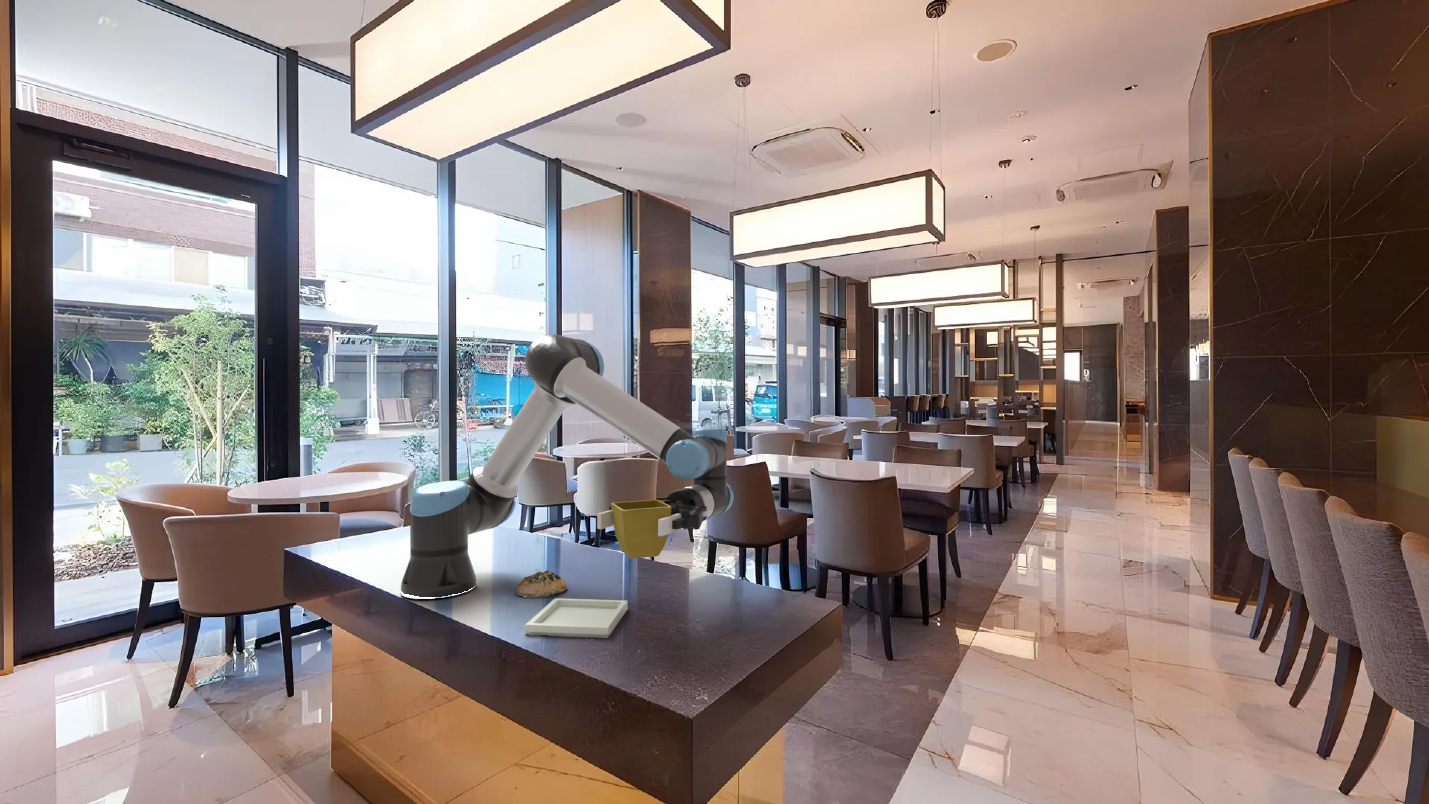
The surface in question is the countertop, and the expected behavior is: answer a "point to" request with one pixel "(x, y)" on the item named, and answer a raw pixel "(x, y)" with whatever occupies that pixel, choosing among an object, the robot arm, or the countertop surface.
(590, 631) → the tray
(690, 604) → the countertop surface
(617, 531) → the flower pot
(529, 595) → the bread roll
